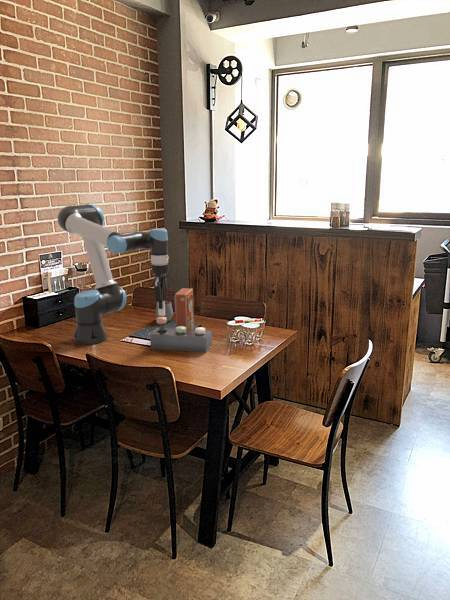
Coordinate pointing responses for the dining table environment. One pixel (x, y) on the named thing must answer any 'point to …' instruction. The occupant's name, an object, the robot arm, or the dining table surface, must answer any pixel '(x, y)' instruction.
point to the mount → (180, 340)
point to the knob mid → (180, 329)
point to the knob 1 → (161, 323)
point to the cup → (166, 311)
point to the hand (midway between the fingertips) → (161, 315)
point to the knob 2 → (200, 330)
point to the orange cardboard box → (184, 308)
